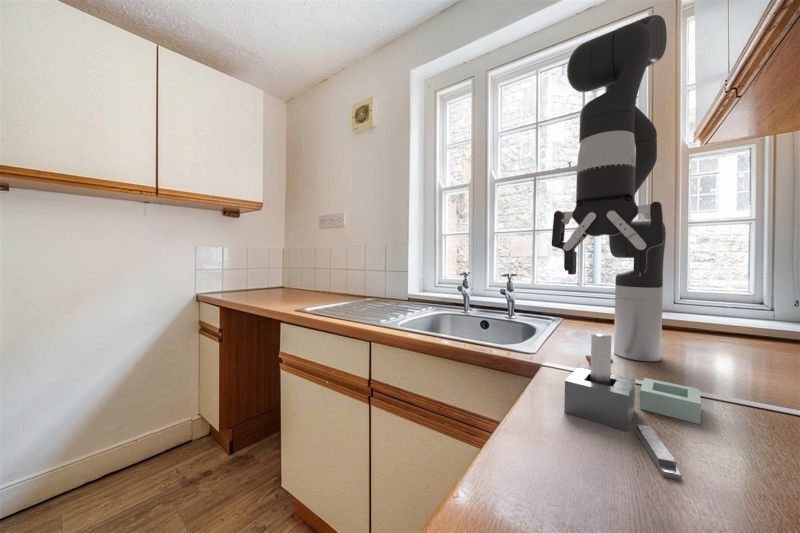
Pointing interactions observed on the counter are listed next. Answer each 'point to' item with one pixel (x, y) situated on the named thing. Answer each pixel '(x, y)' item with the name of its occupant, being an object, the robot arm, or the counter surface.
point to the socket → (600, 399)
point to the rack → (671, 400)
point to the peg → (600, 358)
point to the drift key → (658, 452)
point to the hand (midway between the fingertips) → (602, 275)
